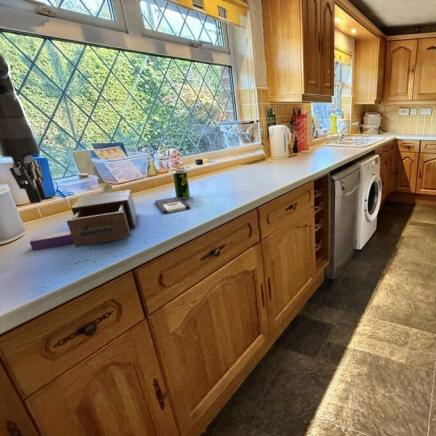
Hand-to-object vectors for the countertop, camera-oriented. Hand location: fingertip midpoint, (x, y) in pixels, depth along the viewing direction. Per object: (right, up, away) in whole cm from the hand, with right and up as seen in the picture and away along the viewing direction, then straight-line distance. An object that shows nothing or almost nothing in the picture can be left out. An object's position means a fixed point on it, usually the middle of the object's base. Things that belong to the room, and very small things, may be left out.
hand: (38, 200), depth 83 cm
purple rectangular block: (0, -12, +5) cm, 13 cm away
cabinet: (+7, -7, +18) cm, 21 cm away
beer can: (+17, +4, +48) cm, 51 cm away
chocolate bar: (+18, 0, +37) cm, 41 cm away
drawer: (+14, -10, +6) cm, 18 cm away
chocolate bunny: (-7, 0, +39) cm, 40 cm away
